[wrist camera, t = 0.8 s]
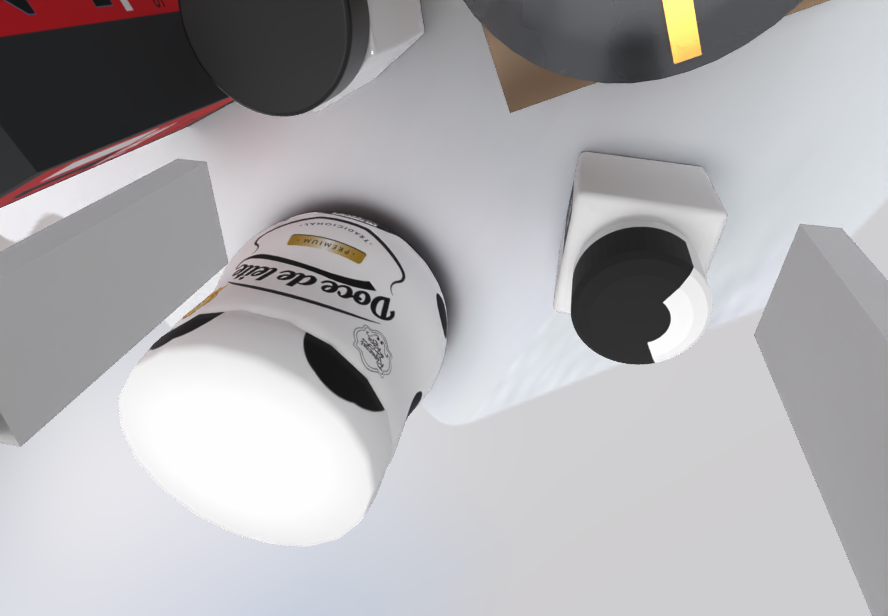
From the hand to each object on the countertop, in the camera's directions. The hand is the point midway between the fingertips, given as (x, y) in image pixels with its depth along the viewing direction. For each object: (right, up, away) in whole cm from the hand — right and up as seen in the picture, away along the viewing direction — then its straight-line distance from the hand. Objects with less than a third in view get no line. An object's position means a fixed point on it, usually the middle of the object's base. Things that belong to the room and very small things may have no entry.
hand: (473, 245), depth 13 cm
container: (+12, +5, +25) cm, 28 cm away
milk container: (-8, 0, +33) cm, 34 cm away
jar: (-6, +17, +21) cm, 28 cm away
